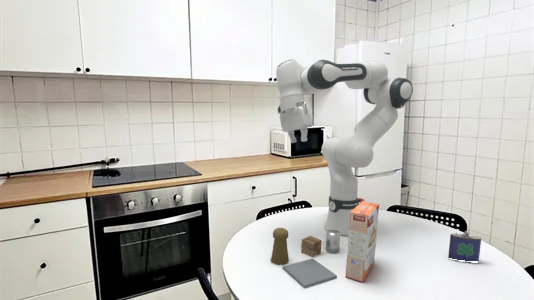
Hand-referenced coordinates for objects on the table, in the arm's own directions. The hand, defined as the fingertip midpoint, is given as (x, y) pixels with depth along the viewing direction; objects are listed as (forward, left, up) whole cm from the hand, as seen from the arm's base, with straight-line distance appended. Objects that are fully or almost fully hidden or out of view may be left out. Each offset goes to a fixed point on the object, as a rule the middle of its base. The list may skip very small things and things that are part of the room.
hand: (298, 142), depth 112 cm
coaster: (+9, +21, -39) cm, 45 cm away
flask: (-44, +38, -39) cm, 70 cm away
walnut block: (0, +10, -39) cm, 40 cm away
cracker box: (-7, +27, -39) cm, 48 cm away
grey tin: (-8, +12, -39) cm, 41 cm away
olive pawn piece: (+13, +10, -39) cm, 42 cm away
